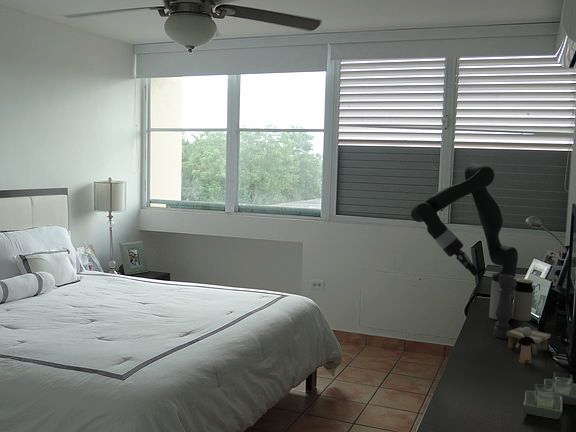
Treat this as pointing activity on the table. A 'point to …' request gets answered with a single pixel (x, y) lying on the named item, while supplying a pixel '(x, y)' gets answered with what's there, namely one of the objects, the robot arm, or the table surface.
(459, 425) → the table surface
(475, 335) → the table surface
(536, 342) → the beige toy table
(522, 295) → the travel mug
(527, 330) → the grandmother figurine
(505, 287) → the candle holder
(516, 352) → the table surface
